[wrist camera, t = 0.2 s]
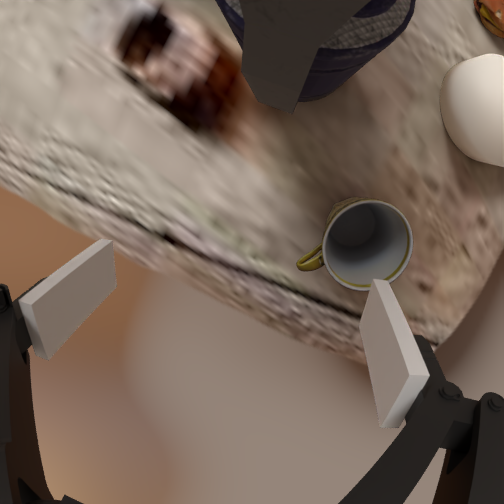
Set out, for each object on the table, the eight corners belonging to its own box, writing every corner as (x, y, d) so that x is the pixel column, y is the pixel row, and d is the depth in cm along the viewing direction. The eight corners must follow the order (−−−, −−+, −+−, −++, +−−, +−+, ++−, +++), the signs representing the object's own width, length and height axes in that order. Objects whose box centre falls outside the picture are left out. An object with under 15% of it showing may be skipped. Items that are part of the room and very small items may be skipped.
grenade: (270, 6, 32) (240, -164, 4) (358, 39, 33) (472, -91, 5) (231, 98, 37) (110, 24, 9) (321, 131, 38) (416, 125, 10)
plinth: (441, 46, 31) (461, 36, 26) (519, 80, 30) (542, 78, 25) (434, 148, 36) (455, 152, 31) (512, 172, 36) (535, 179, 30)
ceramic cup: (374, 174, 39) (400, 186, 29) (394, 243, 42) (421, 273, 32) (280, 208, 42) (279, 230, 32) (307, 275, 44) (312, 312, 35)
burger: (520, 15, 26) (536, 9, 21) (510, 51, 29) (527, 47, 25) (475, -24, 25) (489, -34, 21) (463, 10, 28) (478, 2, 24)
